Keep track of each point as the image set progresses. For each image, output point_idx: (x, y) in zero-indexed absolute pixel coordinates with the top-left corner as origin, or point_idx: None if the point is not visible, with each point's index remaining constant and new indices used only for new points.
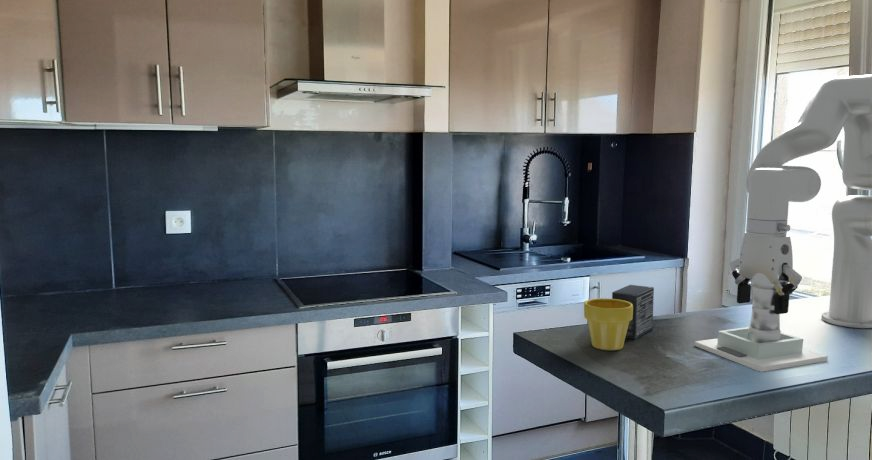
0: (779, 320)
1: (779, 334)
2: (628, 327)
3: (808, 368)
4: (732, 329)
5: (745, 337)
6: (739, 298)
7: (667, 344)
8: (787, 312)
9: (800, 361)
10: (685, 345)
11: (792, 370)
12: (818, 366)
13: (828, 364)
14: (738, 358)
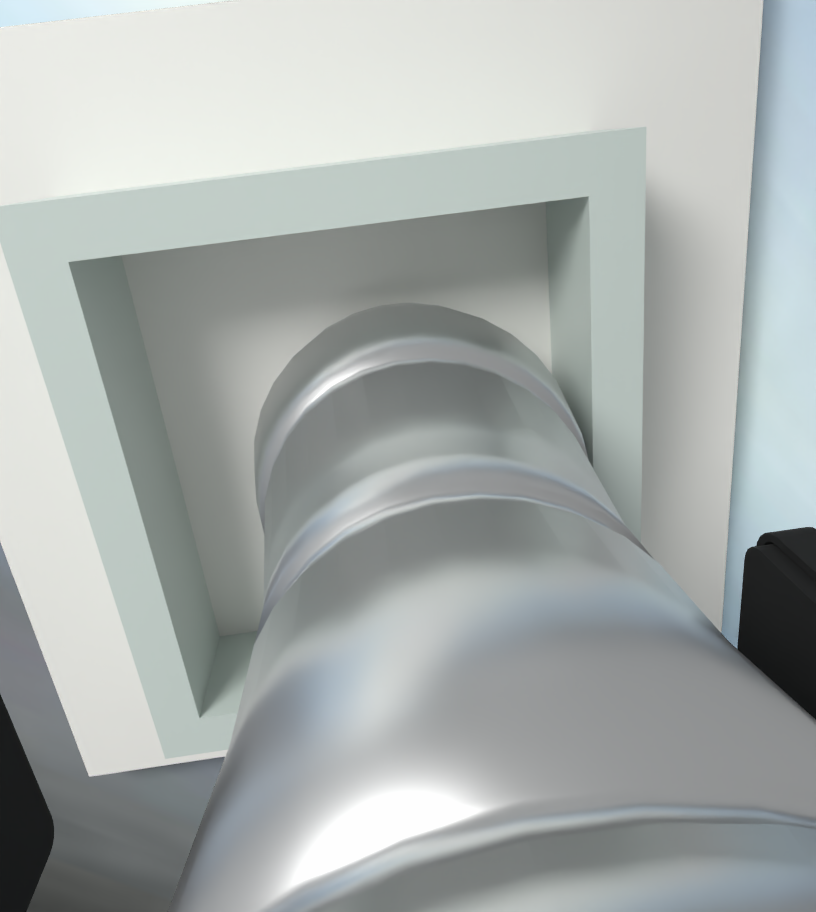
0: (591, 471)
1: (578, 429)
2: None
3: (793, 306)
4: (134, 620)
5: (154, 443)
6: (15, 909)
7: (42, 877)
8: (802, 529)
9: (736, 323)
10: (78, 792)
11: (768, 454)
12: (800, 182)
13: (807, 37)
14: None
